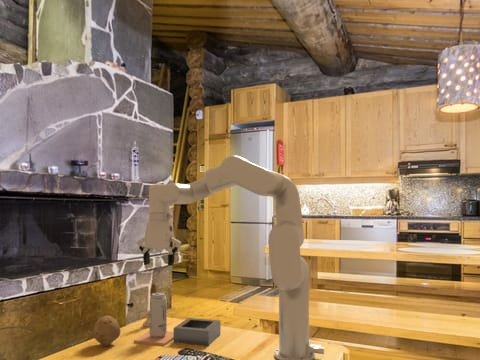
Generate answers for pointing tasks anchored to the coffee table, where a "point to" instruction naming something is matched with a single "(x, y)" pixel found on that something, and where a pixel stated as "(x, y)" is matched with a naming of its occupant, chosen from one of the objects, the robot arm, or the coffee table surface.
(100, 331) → the natural sponge
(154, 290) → the hand bell
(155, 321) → the energy drink can
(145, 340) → the terracotta tile
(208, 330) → the frame
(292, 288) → the robot arm
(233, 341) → the coffee table surface
